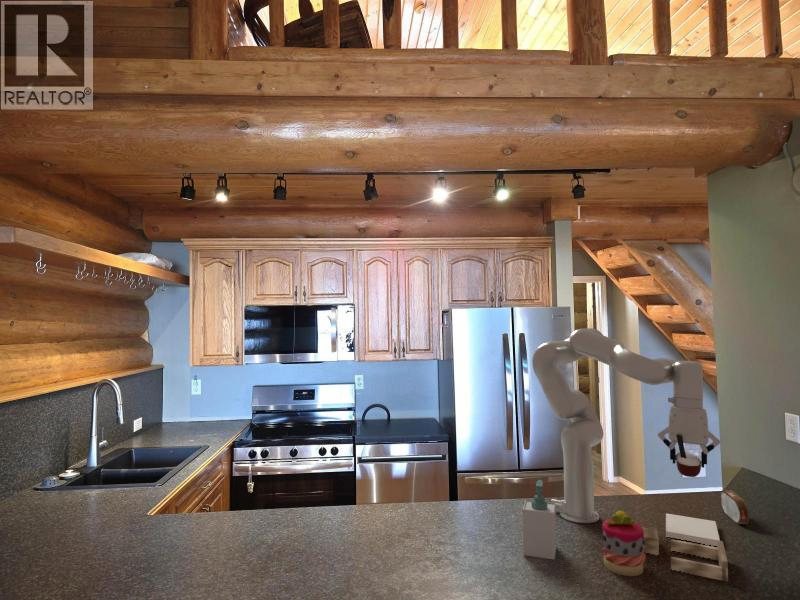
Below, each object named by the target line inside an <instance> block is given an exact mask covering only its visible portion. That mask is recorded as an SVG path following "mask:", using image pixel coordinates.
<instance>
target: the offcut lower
mask: <svg viewBox="0 0 800 600" xmlns="http://www.w3.org/2000/svg"><path fill="white" fill-rule="evenodd" d="M659 541H660V538H659V536H658V548H655V547H650V546H644V545H643V551H644V552H645V554H647V553H651V554H650V555H652V554H655V555H654V556H657V555H659V553H660V551H659V550H660V549H659V546H660V542H659Z"/></svg>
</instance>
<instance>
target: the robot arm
mask: <svg viewBox="0 0 800 600" xmlns="http://www.w3.org/2000/svg"><path fill="white" fill-rule="evenodd" d="M584 358H590V359H592V360H595V361H598V362H600V363H603V364H605V365H608V366H610V367H611V368H613V369H614V370H616V371H618V372H619V373H621V374H623V375H625V376H627V377H629V378H632V379H634V380H636V381H639V382H642V383H644V384H647V385H650V386H658V385H662V384H668V383H673V387H672V388H673V396H672V397H668V398H667V402H668V403H671V404H672V405H671V406H670V409H669V414H668V415H669V416H668V426H667V427H665V428H664V429H662V430H661V431H660V432H658V433H657V437H658V438H659V439H660V440H661V441H662V443H664V445H665V446H666V447H668V449H669V459H670V461H672V464H676V454H677V453H676V447H675V446H676V445H677V444H678V441H677V436H676V435H680V436H682V439H683V443H684V444H687V445H688V444H689V445H698V446H699V447H700V448H701V452H700V453H701V455H700V457H701V459H700V461H701V469H702V468H703V469H704V468H705V465H708V454H709V453H710V452H711V451H713V450H714V449H716V448H717V447H718V446H719V445H720V444H721V440H720V439H719V438H718V437H717V436H715V434H713V433H712V432H711V431H710V430H709V420H708V413H707V410H706V409H705V408H704V394H703V393H704V390H703V389H704V384H703V383H704V380H703V376H704V374H703V372H704V370H703V365H702V363H700V362H699V361H693V360H674V359H669V358H663V357H662V358H653V359H652V358H649V357H647V356H643V355H640V354H638V353H635V352H633V351H631V350H630V349H628V348H626V346H625V345H624V343H623V342H622V341H619V340H617V339H614V338H611V337H609V336H606V335H604V334H603V333H602V332H601V331H600V330H598V329H596V328H590V327H589V328H588V327H587V328H579V329H578V328H577V329H576V330H574V331H573V332H572V333H571V334H570V336H569V338H567V339H564V340H555V341H554V340H553V341H547V342H544V343H542V344H540V345H539V346H538V347H537V348H536V350H535V351H534V353H533V355H532V369H533V371H534V374H535V376H536V378H537V380H538V383H539V385H540V386H541V388H542V391H543V393H544V395H545V398H546V401H547V402H548V404H549V406H550V408H551V411H552V413H553V415H554V416H555V417H556V418H558V419H559V420H563V421H568V420H571V422H569V423H568V424H567V425H566V426H564V428H563V429H562V431H561V434H560V442H561V447H562V448H561V449H562V453H563V455H562V456H563V495H564V496H563V499H561V500H560V499H556V498H552V499H551V501H550V502H554V503H555V504H556V509H557V508H560V509H559V516H560V517H562V518H563V519H564V520H566V521H569V522H572V523H578V524H579V523H580V524H592V523H593V524H594V523H596V522H598V521H599V520H600V515H599V513H598V512H597V511H596V510H595V494H594V493H595V486H594V480H595V479H594V476H595V475H594V459H593V454H592V451H591V448H593V447H595V446H598V444H600V443H601V442H602V440H603V439H604V429H603V426H602V424H601V422H600V420H599V417H598V416H597V414H596V411H595V409H594V407H593V405H592V404H591V401H590V399H589V398H588V396H587V395H586V394H585V393H584V392H582V391H580V390H577V389H571V388H570V386H569V385H568V383H567V380H566V379H565V377H564V375H563V374H562V373H561V371H560V370H559V369H558V366H560V365H561V366H562V365H568V364H571V363H574V362H577V361H579V360H582V359H584ZM667 434H668V438H667V437H666V435H667ZM709 439H710V440H711V441H712V442H711V443H709ZM708 443H709V444H708ZM707 444H708V445H707Z"/></svg>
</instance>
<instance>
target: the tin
mask: <svg viewBox="0 0 800 600" xmlns="http://www.w3.org/2000/svg"><path fill="white" fill-rule="evenodd" d="M720 500H721V507H722V510H723V513H724V514H725V515H726V516H727V517H729V519H731V520H732V521H733V522H734V523H735V524H737V525H745V526H747V525H748V524H749V519H750V517H749V516H750V515H749V511H748V506H747V504H746V502H745V500H744V499H743V498H742V497H741V496H740V495H738V494H737V493H735V492H734V491H733V490H732V489H730V490H725V489H724V490H721V492H720Z"/></svg>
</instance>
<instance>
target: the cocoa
mask: <svg viewBox="0 0 800 600" xmlns="http://www.w3.org/2000/svg"><path fill="white" fill-rule="evenodd" d="M676 436H677V441H678V442H677V446H678V450H679V452H677V453H676V462H675V464H676V468H677V471H678V472H679V474H681V475H682V476H684V477H689V478H695V477H698V476H699V475H700V473H701V469H702V467H701V459H700V458H699V456H697V455H694V454H693V453H691V452H688V451H686V449H685V443H683V439H682V436H680V435H676Z"/></svg>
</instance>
